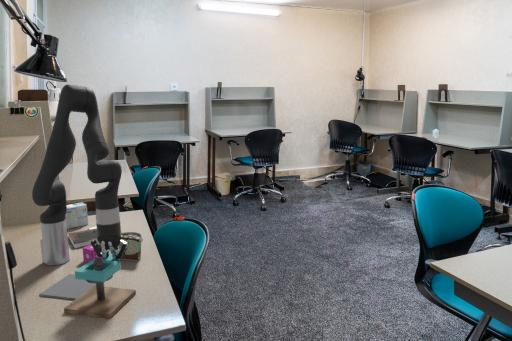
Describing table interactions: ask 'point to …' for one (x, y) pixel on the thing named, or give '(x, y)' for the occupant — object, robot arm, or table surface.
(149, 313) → the table surface
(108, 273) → the teal square racket
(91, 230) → the picture frame
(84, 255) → the puzzle toy
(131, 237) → the food container
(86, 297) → the stand
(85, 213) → the light bulb box
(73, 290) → the mat
